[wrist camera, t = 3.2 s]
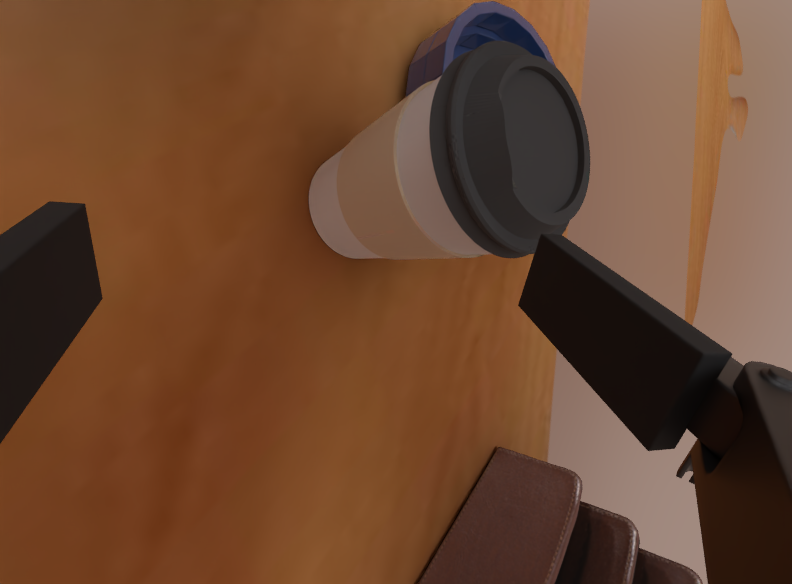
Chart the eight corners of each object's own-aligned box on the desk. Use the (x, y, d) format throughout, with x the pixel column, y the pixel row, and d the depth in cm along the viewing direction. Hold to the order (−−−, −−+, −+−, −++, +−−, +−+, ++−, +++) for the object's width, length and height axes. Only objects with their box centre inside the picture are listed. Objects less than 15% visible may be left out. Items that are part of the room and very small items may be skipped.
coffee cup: (395, 138, 32) (598, 36, 20) (417, 263, 33) (624, 237, 21) (277, 138, 26) (459, -5, 14) (307, 286, 27) (503, 270, 15)
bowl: (371, 44, 31) (413, 9, 27) (494, 24, 39) (538, -5, 35) (442, 239, 34) (487, 231, 31) (541, 183, 42) (585, 172, 39)
